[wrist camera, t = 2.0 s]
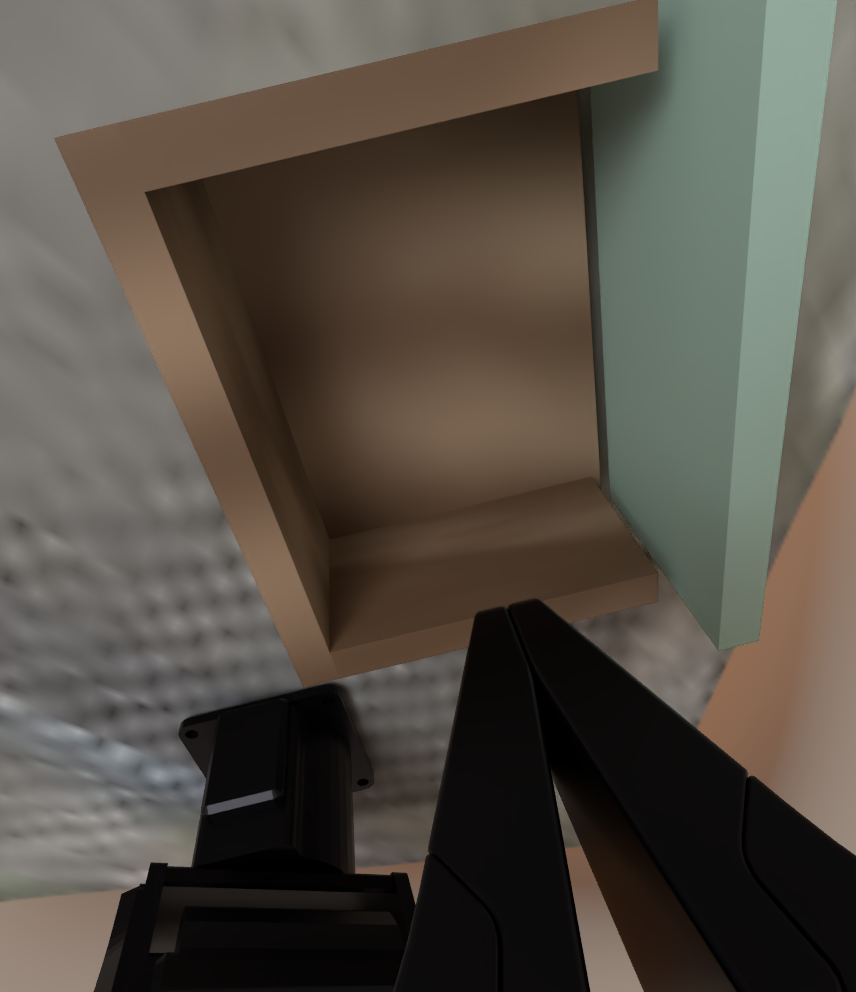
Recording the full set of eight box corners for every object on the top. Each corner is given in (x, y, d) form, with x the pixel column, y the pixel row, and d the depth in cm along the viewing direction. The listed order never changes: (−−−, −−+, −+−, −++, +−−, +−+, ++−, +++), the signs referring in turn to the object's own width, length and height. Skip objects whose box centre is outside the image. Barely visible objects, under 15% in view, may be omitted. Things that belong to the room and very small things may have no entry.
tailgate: (639, 490, 21) (758, 640, 15) (610, 497, 21) (718, 650, 15) (630, 9, 14) (843, -54, 8) (587, 19, 14) (769, -37, 8)
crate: (591, 484, 22) (669, 598, 17) (308, 552, 22) (303, 687, 17) (560, 26, 15) (676, -9, 10) (146, 124, 15) (54, 137, 10)
